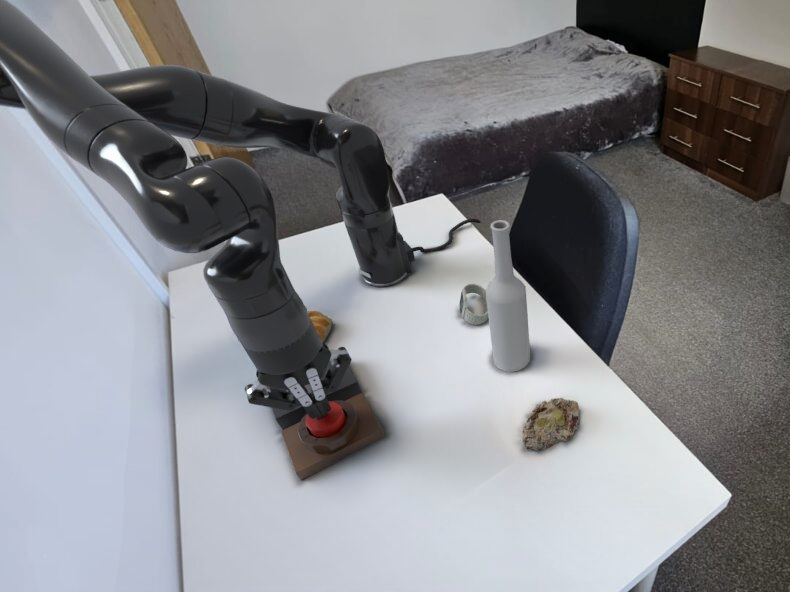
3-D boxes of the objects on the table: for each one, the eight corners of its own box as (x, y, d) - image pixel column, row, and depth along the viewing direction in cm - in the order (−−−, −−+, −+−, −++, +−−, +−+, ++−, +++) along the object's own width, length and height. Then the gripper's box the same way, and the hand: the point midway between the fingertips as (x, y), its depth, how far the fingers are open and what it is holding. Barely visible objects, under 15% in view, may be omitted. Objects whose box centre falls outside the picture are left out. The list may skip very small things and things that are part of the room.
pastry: (321, 358, 83) (314, 343, 81) (280, 361, 82) (271, 346, 80) (335, 322, 90) (329, 307, 88) (298, 324, 89) (290, 309, 87)
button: (340, 404, 72) (336, 396, 70) (350, 426, 69) (346, 418, 68) (306, 420, 69) (301, 412, 68) (315, 443, 66) (311, 435, 65)
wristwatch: (458, 298, 97) (455, 279, 93) (489, 294, 98) (487, 275, 95) (462, 328, 90) (459, 309, 87) (495, 323, 92) (493, 304, 88)
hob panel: (345, 360, 83) (339, 348, 81) (362, 394, 78) (357, 382, 75) (269, 393, 77) (261, 380, 75) (283, 432, 72) (275, 419, 70)
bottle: (518, 339, 88) (509, 208, 70) (537, 361, 84) (531, 228, 66) (487, 354, 85) (468, 220, 67) (504, 377, 81) (489, 242, 63)
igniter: (365, 399, 77) (359, 384, 74) (385, 436, 72) (378, 420, 69) (285, 438, 71) (275, 423, 68) (300, 480, 66) (290, 465, 63)
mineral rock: (552, 382, 78) (587, 401, 73) (558, 401, 80) (592, 420, 75) (503, 424, 72) (538, 447, 67) (511, 443, 74) (545, 467, 69)
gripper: (215, 371, 51) (277, 457, 62) (342, 322, 57) (377, 408, 68) (204, 331, 55) (264, 419, 66) (324, 290, 61) (359, 376, 73)
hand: (321, 413), depth 67 cm, fingers closed
